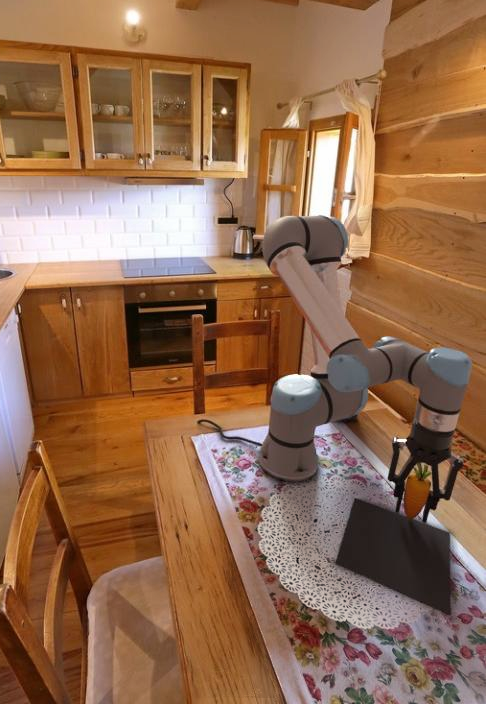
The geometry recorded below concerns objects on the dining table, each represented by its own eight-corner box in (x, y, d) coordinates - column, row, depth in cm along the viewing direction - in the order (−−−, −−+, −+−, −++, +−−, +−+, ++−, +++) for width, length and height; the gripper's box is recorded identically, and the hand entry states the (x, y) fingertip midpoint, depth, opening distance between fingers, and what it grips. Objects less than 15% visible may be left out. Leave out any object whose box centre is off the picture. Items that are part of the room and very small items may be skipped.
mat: (335, 563, 79) (335, 563, 79) (354, 497, 96) (354, 497, 96) (450, 615, 71) (450, 614, 71) (449, 532, 88) (449, 532, 88)
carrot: (424, 530, 88) (440, 473, 82) (400, 525, 88) (414, 469, 83) (418, 512, 92) (432, 458, 87) (395, 508, 93) (408, 454, 88)
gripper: (385, 419, 82) (366, 509, 90) (487, 447, 75) (456, 542, 83) (389, 402, 89) (371, 487, 97) (483, 427, 81) (455, 517, 89)
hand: (410, 513), depth 90 cm, fingers closed on carrot, 5 cm apart
